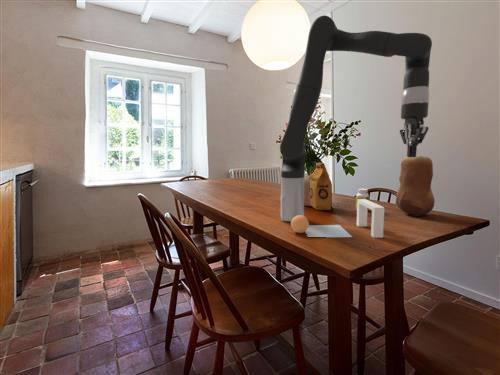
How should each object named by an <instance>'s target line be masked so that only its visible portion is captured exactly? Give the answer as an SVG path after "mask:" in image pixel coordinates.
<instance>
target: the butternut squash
mask: <svg viewBox="0 0 500 375" xmlns="http://www.w3.org/2000/svg"><path fill="white" fill-rule="evenodd" d="M433 167H434V164H433V161H432V159H431V158H430V157H429V156H425V155H416V157H407V156H406V157H404V158H403V159H402V161H401V164H400V175H399V178H398V180H399V183H400V185H399V189H398V190H397V193H396V198H395V204H396V205H397V207H398V208H399V210H400V211H402V212H404V213H406V214H410V215H411V216H414V217H416V216H417V217H421V216H425V215H427V214H429V213H430V212H432V211H433V209H434V207H435V195H434V194H433V190H432V181H433V177H434V168H433Z"/></svg>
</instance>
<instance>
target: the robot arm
mask: <svg viewBox="0 0 500 375" xmlns="http://www.w3.org/2000/svg"><path fill="white" fill-rule="evenodd" d="M307 35H308V36H307V43H306V49H305V53H304V59H303V63H302V65H301V70H300V72H299V77H298V80H297V84H296V86H295V89H294V90H295V91H294V94H293V98H292V104H291V107H290V112H289V113H290V114H289V119H288V123H287V126H286V129H285V131H284V134H283V137H282V139H281V141H280V145H279V152H280V155H281V157H282V163H281V164H282V165H281V170H280V219H281V221H282V222H290V223H291V221H292V219H293V218H294V217H295V216H297V215H302V216H304V217H305V173H306V172H305V171H306V144H305V138H306V134H307V129H308V126H309V123H310V122H311V119H312V117H313V116H314V113H315V110H316V108H317V106H318V103H319V99H320V96H321V92H322V88H323V78H324V63H325V62H324V61H325V57H326V55H327V52H354V53H361V54H369V55H374V56H379V57H384V58H392V57H394V56H399V57H405V60H404V61H405V62H404V63H405V65H404V67H405V69H404V72H405V73H404V77H403V85H402V86H403V89H402V94H401V95H402V96H401V108H400V119H401V120H404V123H403V127H404V128H403V129H400V130H399V135H400V137H401V139H402V142H403V144H404V145H406V148H407V152H406V157H416V156H417V147H418V146H419V144H422V143H423V141H424V139H425V137H426V135H427V133H428V131H429V126H425V121H424V119H425V118H427V117H428V116H429V115H428V114H429V103H430V89H429V86H430V70H429V67H430V58H431V51H432V47H433V46H432V45H433V41H432V38H431V37H430V36H429V35H428V34H424V33H420V32H403V33H395V32H390V31H389V32H388V31H380V30H368V31H367V30H366V31H363V32H362V31H361V32H349V31H344V30H342V29H338V27H337V26H336V23H335V21H334V20H333V18H331V17H330V16H328V15H326V14H325V15H321V16H318V17H317V18H316V19H315V20H314V21H313V22H312V24H311V25H310V28H309V30H308V34H307Z"/></svg>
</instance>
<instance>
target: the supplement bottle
mask: <svg viewBox="0 0 500 375" xmlns="http://www.w3.org/2000/svg"><path fill="white" fill-rule="evenodd" d="M357 199H366V200H369V201H370V195H369V193H368V189H367V188H358V189H357V193H356V197H355V210H356V211H357ZM368 211H369V209H368V210H367V212H368Z"/></svg>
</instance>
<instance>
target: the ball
mask: <svg viewBox="0 0 500 375" xmlns="http://www.w3.org/2000/svg"><path fill="white" fill-rule="evenodd" d="M290 225H291V229H292V230H293V231H294V232H295V233H297V234H298V233H299V234H303V233H305V231H306V230H307V229H308V227H309V225H310V222H309V220H308V218H307V217H306V216H305V215H304V216H302V215H297V216H295V217H294V218H293V219H292V221H291V222H290Z"/></svg>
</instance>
